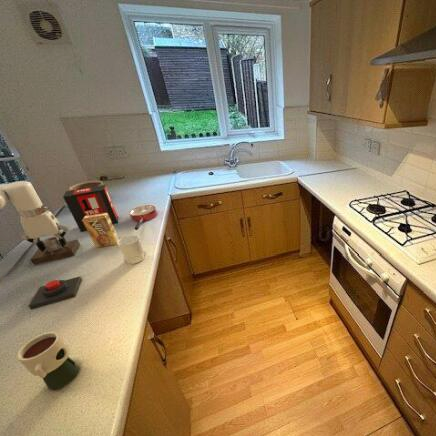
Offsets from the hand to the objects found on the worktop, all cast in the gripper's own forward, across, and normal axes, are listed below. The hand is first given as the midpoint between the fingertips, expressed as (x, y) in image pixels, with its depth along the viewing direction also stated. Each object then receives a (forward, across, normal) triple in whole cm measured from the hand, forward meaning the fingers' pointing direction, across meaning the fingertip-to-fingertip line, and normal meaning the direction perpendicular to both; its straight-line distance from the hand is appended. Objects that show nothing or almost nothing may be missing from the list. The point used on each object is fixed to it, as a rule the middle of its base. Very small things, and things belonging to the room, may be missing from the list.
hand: (54, 247), depth 106 cm
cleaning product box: (+4, -12, -25) cm, 28 cm away
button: (+1, -8, +31) cm, 32 cm away
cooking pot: (+4, -2, -64) cm, 64 cm away
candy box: (+4, -19, +1) cm, 19 cm away
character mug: (+4, -19, +69) cm, 72 cm away
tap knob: (+1, 0, 0) cm, 1 cm away
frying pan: (+4, -34, -14) cm, 37 cm away
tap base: (+4, 0, 0) cm, 4 cm away
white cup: (+4, -32, +21) cm, 38 cm away
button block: (+4, -8, +31) cm, 32 cm away
